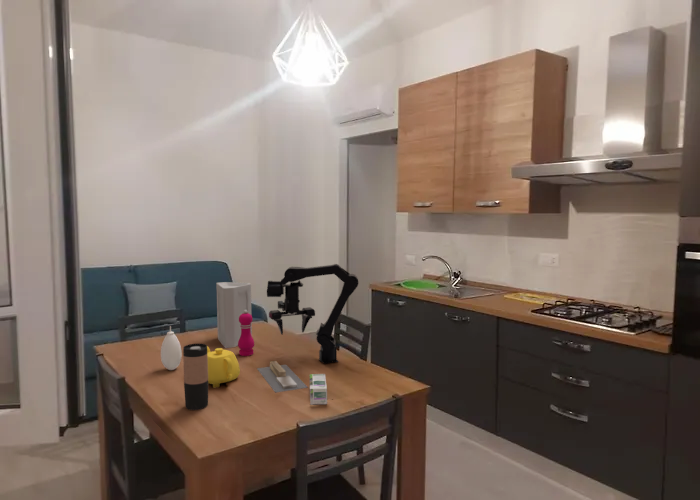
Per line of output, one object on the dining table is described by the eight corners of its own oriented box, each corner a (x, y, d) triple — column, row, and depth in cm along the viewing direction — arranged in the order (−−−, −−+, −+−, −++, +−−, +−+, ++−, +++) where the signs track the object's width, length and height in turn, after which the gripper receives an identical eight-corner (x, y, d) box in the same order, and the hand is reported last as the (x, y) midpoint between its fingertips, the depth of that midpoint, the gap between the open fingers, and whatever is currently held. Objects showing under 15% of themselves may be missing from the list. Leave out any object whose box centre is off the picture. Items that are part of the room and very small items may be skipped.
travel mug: (187, 401, 166) (186, 343, 165) (211, 400, 167) (209, 343, 165) (182, 410, 159) (180, 350, 157) (206, 410, 160) (204, 349, 158)
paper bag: (256, 344, 236) (255, 286, 233) (224, 348, 230) (223, 288, 227) (246, 334, 253) (245, 280, 251) (217, 338, 247) (216, 282, 244)
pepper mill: (250, 356, 216) (249, 311, 214) (235, 355, 218) (234, 311, 216) (257, 352, 223) (256, 308, 221) (242, 351, 225) (241, 307, 223)
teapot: (214, 393, 174) (213, 357, 173) (188, 378, 189) (187, 346, 188) (247, 383, 184) (247, 350, 182) (221, 370, 198) (220, 339, 197)
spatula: (279, 367, 198) (279, 360, 198) (297, 387, 177) (297, 379, 176) (266, 368, 196) (266, 361, 196) (283, 389, 175) (283, 381, 174)
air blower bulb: (185, 369, 200) (184, 325, 198) (167, 374, 194) (165, 329, 192) (176, 365, 205) (174, 322, 203) (157, 369, 199) (156, 325, 198)
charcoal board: (286, 367, 202) (285, 364, 202) (308, 390, 176) (308, 387, 176) (256, 371, 197) (256, 368, 197) (275, 395, 172) (275, 392, 171)
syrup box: (325, 373, 178) (327, 387, 163) (325, 389, 178) (327, 404, 164) (309, 374, 177) (309, 388, 163) (309, 390, 178) (310, 405, 163)
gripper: (306, 292, 219) (307, 327, 220) (265, 295, 211) (266, 331, 213) (315, 296, 209) (315, 332, 210) (272, 299, 201) (272, 337, 203)
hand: (292, 333), depth 209 cm, fingers open, 9 cm apart
